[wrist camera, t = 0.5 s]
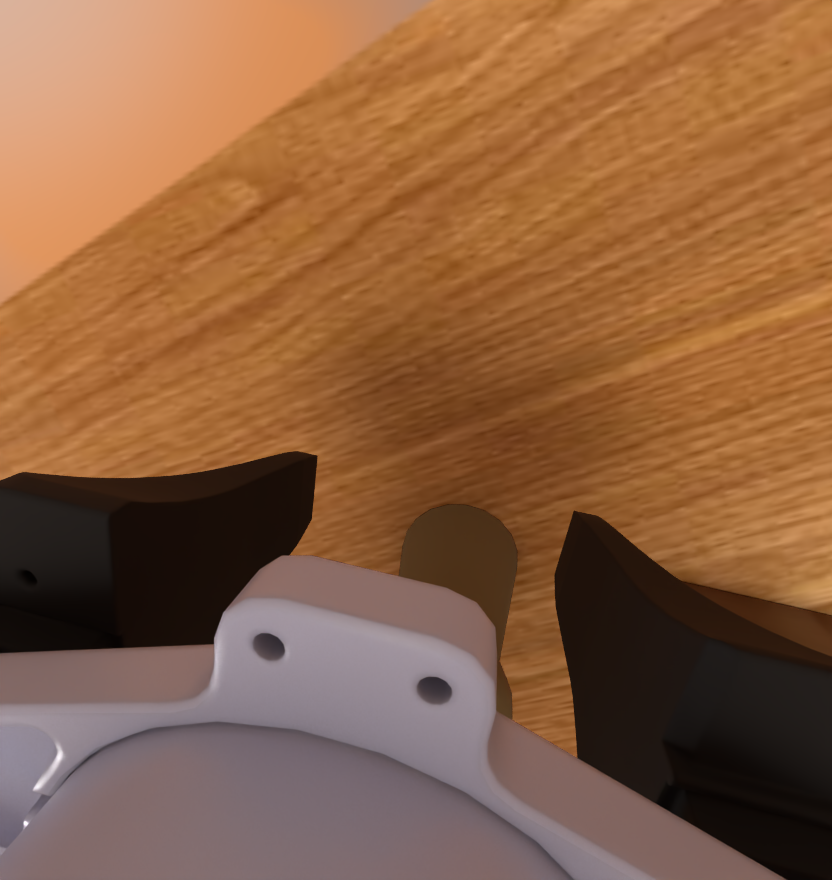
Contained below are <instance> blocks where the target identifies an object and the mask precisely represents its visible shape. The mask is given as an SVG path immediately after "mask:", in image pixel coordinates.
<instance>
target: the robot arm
mask: <svg viewBox="0 0 832 880" xmlns="http://www.w3.org/2000/svg"><path fill="white" fill-rule="evenodd" d="M316 467H317V455H312V454H307V453H303V452H298V451H295V452H287V453H282V454H278V455H274V456H270V457H266V458H262V459H258V460H254V461H250V462H246V463H242V464H238V465H233V466H228V467H224V468H219V469H215V470H210V471H204V472H198V473H190V474H183V475H174V476H161V477H143V478H88V477H72V476H60V475H49V474H37V473H28V472H22V473H18V474H16V475H13V476H11V477H8V478H6V479H3V480H1V481H0V880H832V656H829V655H826V654H824V653H821V652H818V651H816V650H813V649H810V648H808V647H806V646H803V645H801V644H799V643H796V642H794V641H792V640H789V639H787V638H785V637H783V636H780V635H778V634H776V633H774V632H771V631H769V630H767V629H765V628H763V627H761V626H759V625H757V624H755V623H753V622H751V621H749V620H747V619H745V618H743V617H741V616H739V615H737V614H735V613H733V612H732V611H730V610H728V609H726V608H724V607H722V606H720V605H719V604H717V603H715V602H713V601H712V600H710V599H708V598H707V597H705V596H704V595H702V594H700V593H699V592H697V591H696V590H694V589H692V588H691V587H689V586H688V585H686V584H685V583H683V582H682V581H680V580H679V579H677V578H676V577H674V576H673V575H672V574H670V573H669V572H668V571H666V570H665V569H664V568H662V567H661V566H660V565H658V564H657V563H656V562H654V561H653V560H652V559H650V558H649V557H648V556H647V555H645V554H644V553H643V552H642V551H641V550H639V549H638V548H637V547H636V546H635V545H633V544H632V543H631V542H630V541H629V540H627V539H626V538H625V537H624V536H623V535H622V534H620V533H619V532H618V531H617V530H616V529H614V528H613V527H612V526H611V525H610V524H608V523H607V522H606V521H604V520H603V519H602V518H600V517H598V516H596V515H591V514H586V513H582V512H577V511H574V512H573V515H572V519H571V522H570V525H569V529H568V532H567V535H566V539H565V542H564V545H563V548H562V552H561V555H560V558H559V562H558V565H557V568H556V572H555V601H556V610H557V616H558V621H559V626H560V631H561V636H562V641H563V646H564V651H565V656H566V661H567V666H568V671H569V676H570V681H571V688H572V694H573V704H574V716H575V728H576V741H577V757H578V758H576V757H575V756H573V755H571V754H569V753H568V752H566V751H564V750H563V749H561V748H559V747H557V746H556V745H554V744H552V743H551V742H549V741H547V740H545V739H544V738H542V737H540V736H538V735H537V734H535V733H533V732H532V731H530V730H528V729H526V728H525V727H523V726H521V725H520V724H518V723H516V722H514V721H513V720H511V719H509V718H507V717H506V716H504V715H502V714H501V713H499V712H497V711H496V692H497V646H496V630H495V626H494V625H493V623H492V622H491V621H490V619H489V618H488V617H487V615H486V614H485V613H484V612H483V610H482V609H481V608H480V606H479V605H478V604H477V602H475V601H473V600H471V599H469V598H466V597H464V596H462V595H460V594H458V593H456V592H454V591H452V590H450V589H448V588H445V587H441V586H437V585H433V584H429V583H425V582H420V581H416V580H412V579H408V578H404V577H399V576H395V575H391V574H387V573H383V572H379V571H374V570H370V569H366V568H362V567H358V566H354V565H349V564H345V563H341V562H337V561H333V560H328V559H324V558H320V557H316V556H289V555H290V554H291V552H292V551H293V550H294V548H295V547H296V546H297V544H298V543H299V541H300V539H301V537H302V536H303V534H304V532H305V530H306V529H307V527H308V525H309V523H310V521H311V519H312V510H313V500H314V489H315V478H316Z"/></svg>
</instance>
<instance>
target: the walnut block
mask: <svg viewBox="0 0 832 880" xmlns="http://www.w3.org/2000/svg"><path fill="white" fill-rule="evenodd" d="M683 583H685V582H683ZM685 584H686V585H688V586H689V587H691V588H692V589H694V590H696V591H697V592H699V593H700V594H702V595H704V596H705V597H707V598H708V599H710V600H712V601H713V602H715V603H717V604H719V605H720V606H722V607H724V608H726V609H728V610H730V611H732V612H733V613H735V614H737V615H739V616H741V617H743V618H745V619H747V620H749V621H751V622H753V623H755V624H757V625H759V626H761V627H763V628H765V629H767V630H769V631H771V632H774V633H776V634H778V635H780V636H783V637H785V638H787V639H789V640H792V641H794V642H796V643H799V644H801V645H803V646H806V647H808V648H810V649H813V650H816V651H818V652H821V653H824V654H826V655H829V656H832V616H830V615H825V614H821V613H817V612H812V611H808V610H804V609H799V608H795V607H790V606H786V605H782V604H777V603H773V602H768V601H764V600H760V599H755V598H751V597H746V596H742V595H738V594H733V593H729V592H724V591H720V590H716V589H711V588H707V587H702V586H698V585H694V584H689V583H685Z"/></svg>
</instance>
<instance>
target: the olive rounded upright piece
mask: <svg viewBox="0 0 832 880" xmlns="http://www.w3.org/2000/svg"><path fill="white" fill-rule="evenodd" d="M516 570H517V549H516V546H515V543H514V540H513V538H512V535H511V534H510V532H509V531H508V530H507V529H506V528H505V526H504V525H503V524H502V523H501V521H499V520H498V519H496V518H495V517H493V516H492V515H490V514H489V513H487V512H486V511H484V510H481V509H478V508H475V507H471V506H468V505H445V506H441V507H437V508H434V509H430V510H429V511H427V512H426V513H424V514H423V515H421V516H420V517H418V518H417V519H416V520H415V521H414V523H413V524H412V525H411V527H410V528H409V529H408V531H407V533H406V536H405V540H404V543H403V547H402V555H401V563H400V571H399V577H404V578H408V579H412V580H416V581H420V582H425V583H429V584H433V585H437V586H441V587H445V588H448V589H450V590H452V591H454V592H456V593H458V594H460V595H462V596H464V597H466V598H469V599H471V600H473V601H475V602H477V604H478V605H479V606H480V608H481V609H482V610H483V612H484V613H485V614H486V615H487V617H488V618H489V619H490V621H491V622H492V623H493V625H494V626H495V630H496V646H497V692H496V711H497V712H499V713H501V714H502V715H504V716H506V717H507V718H509V719H511V720H512V693H511V690H510V687H509V684H508V681H507V678H506V676H505V673H504V671H503V668H502V666H501V663H500V662H499V660H500V655H501V649H502V644H503V639H504V634H505V628H506V623H507V618H508V613H509V607H510V602H511V597H512V591H513V586H514V581H515V576H516Z"/></svg>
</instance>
